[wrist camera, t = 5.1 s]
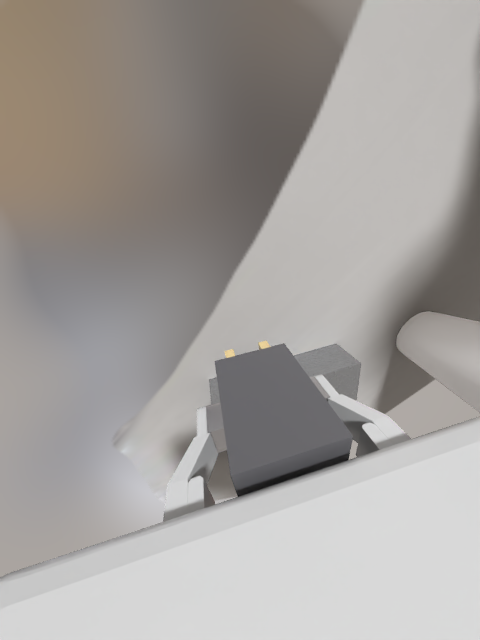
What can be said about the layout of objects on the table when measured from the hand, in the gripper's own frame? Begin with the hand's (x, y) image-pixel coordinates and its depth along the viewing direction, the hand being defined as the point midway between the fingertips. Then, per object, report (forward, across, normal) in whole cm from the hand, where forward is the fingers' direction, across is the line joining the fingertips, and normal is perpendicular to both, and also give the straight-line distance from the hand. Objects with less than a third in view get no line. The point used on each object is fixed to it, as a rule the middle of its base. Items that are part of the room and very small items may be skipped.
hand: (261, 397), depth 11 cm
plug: (+3, 0, 0) cm, 3 cm away
